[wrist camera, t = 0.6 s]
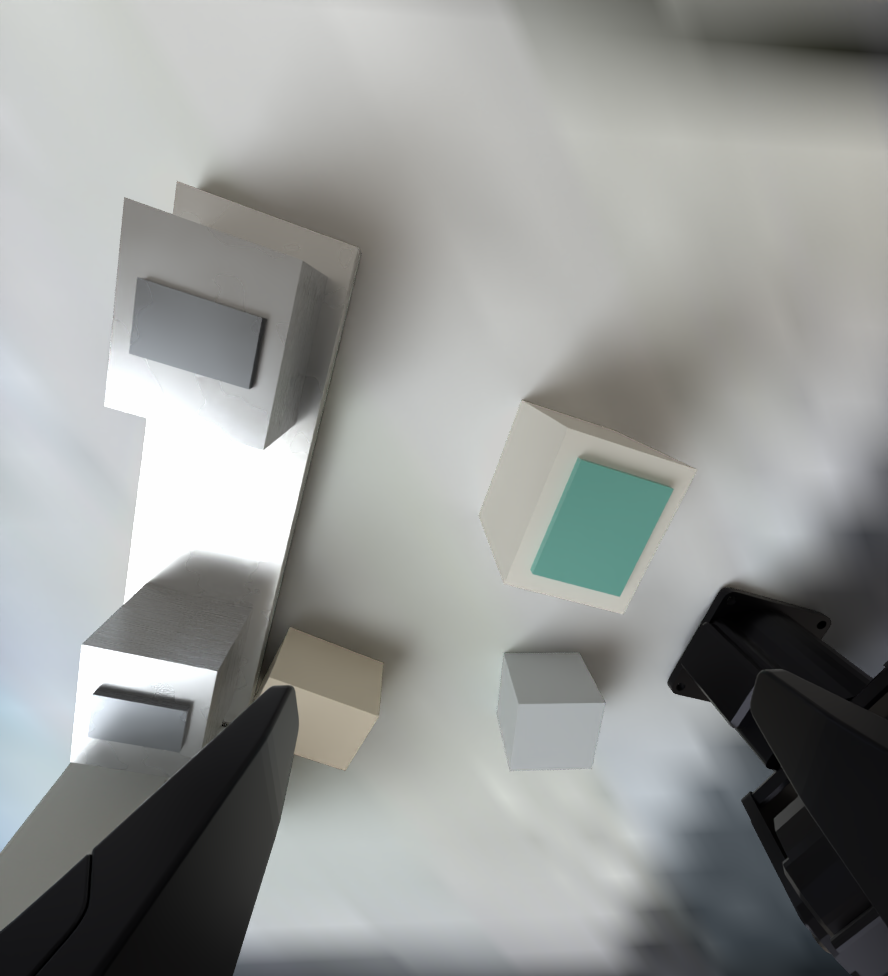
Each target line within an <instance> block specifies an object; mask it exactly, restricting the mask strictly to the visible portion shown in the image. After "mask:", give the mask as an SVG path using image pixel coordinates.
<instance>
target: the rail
mask: <svg viewBox="0 0 888 976" xmlns="http://www.w3.org/2000/svg"><path fill="white" fill-rule="evenodd" d="M360 257H361V251H360V250H359V248H358V247H356V246H353V245H350V244H348V243H345V242H342V241H340V240H337V239H334V238H331V237H329V236H326V235H323V234H320V233H318V232H315V231H312V230H309V229H307V228H304V227H301V226H298V225H296V224H293V223H290V222H288V221H285V220H282V219H279V218H277V217H274V216H271V215H268V214H266V213H263V212H260V211H257V210H255V209H252V208H249V207H247V206H244V205H241V204H238V203H236V202H233V201H230V200H227V199H225V198H222V197H219V196H216V195H214V194H211V193H208V192H205V191H203V190H200V189H197V188H195V187H192V186H189V185H186V184H184V183H181V182H178V181H177V185H176V193H175V201H174V209H173V214H170V213H167V212H165V211H162V210H159V209H156V208H153V207H150V206H148V205H145V204H142V203H139V202H136V201H133V200H131V199H128V198H125V197H124V207H123V217H122V227H121V238H120V248H119V259H118V269H117V280H116V290H115V301H114V311H113V322H112V332H111V342H110V353H109V363H108V374H107V384H106V395H105V405H104V406H106V407H109V408H113V409H116V410H120V411H123V412H127V413H131V414H134V415H138V416H141V417H145V418H147V424H146V432H145V440H144V448H143V456H142V464H141V472H140V480H139V488H138V496H137V504H136V512H135V520H134V528H133V536H132V544H131V552H130V560H129V568H128V576H127V584H126V592H125V600H124V605H123V606H121V607H120V608H119V609H118V610H117V611H116V612H115V613H114V614H113V615H112V616H111V617H110V618H109V619H108V620H107V621H106V622H105V623H104V624H103V625H102V626H100V627H99V628H98V629H97V630H96V631H95V632H94V633H93V634H92V635H91V636H90V637H89V638H88V639H87V640H86V641H85V642H84V643H83V644H82V646H81V656H80V667H79V677H78V687H77V698H76V708H75V719H74V729H73V740H72V750H71V761H70V762H73V763H79V764H86V765H92V766H99V767H105V768H111V769H118V770H124V771H130V772H137V773H143V774H149V775H156V776H162V777H169V778H171V777H172V776H173V775H174V774H175V773H176V772H177V771H178V770H180V769H181V768H182V767H183V766H184V765H185V764H186V763H187V762H188V761H189V760H191V759H192V758H193V757H194V756H195V755H196V754H197V753H198V752H199V751H200V750H201V749H203V748H204V747H205V746H206V745H207V744H208V743H209V742H210V741H211V740H212V739H213V738H215V737H216V735H217V733H218V731H219V729H220V727H221V725H222V723H223V722H226V723H231V722H232V721H233V720H234V719H235V718H236V717H237V716H239V715H240V714H241V713H242V712H243V711H244V710H245V709H246V708H247V707H248V706H249V705H251V704H252V702H253V698H254V694H255V690H256V686H257V682H258V678H259V673H260V669H261V665H262V661H263V657H264V653H265V649H266V645H267V640H268V636H269V632H270V628H271V624H272V620H273V616H274V612H275V607H276V603H277V599H278V595H279V591H280V587H281V583H282V579H283V574H284V570H285V566H286V562H287V558H288V554H289V550H290V546H291V541H292V537H293V533H294V529H295V525H296V521H297V517H298V512H299V508H300V504H301V500H302V496H303V492H304V488H305V484H306V479H307V475H308V471H309V467H310V463H311V459H312V455H313V451H314V446H315V442H316V438H317V434H318V430H319V426H320V422H321V418H322V413H323V409H324V405H325V401H326V397H327V393H328V389H329V385H330V380H331V376H332V372H333V368H334V364H335V360H336V356H337V352H338V347H339V343H340V339H341V335H342V331H343V327H344V323H345V318H346V314H347V310H348V306H349V302H350V298H351V294H352V290H353V285H354V281H355V277H356V273H357V269H358V265H359V261H360Z"/></svg>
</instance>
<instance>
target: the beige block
mask: <svg viewBox="0 0 888 976" xmlns="http://www.w3.org/2000/svg"><path fill="white" fill-rule="evenodd" d="M382 674H383V663H382V662H380V661H377V660H374V659H372V658H369V657H367V656H364V655H361V654H359V653H356V652H354V651H351V650H348V649H346V648H343V647H341V646H338V645H335V644H333V643H330V642H328V641H325V640H322V639H320V638H317V637H315V636H312V635H309V634H307V633H304V632H302V631H299V630H296V629H294V628H291V627H290V628H289V630H288V632H287V634H286V636H285V637H284V639H283V641H282V643H281V645H280V647H279V649H278V651H277V653H276V655H275V657H274V659H273V661H272V663H271V665H270V667H269V669H268V671H267V673H266V675H265V677H264V679H263V681H262V683H261V685H260V688H259V690H258V692H257V695H256V697H255V699H254V701H255V700H256V699H257V698H258V697H259V696H260V695H262V694H263V693H264V692H265V691H266V690H267V689H268V688H269V687H271V686H275V685H292V686H293V687H294V689H295V692H296V700H297V708H298V716H299V730H298V736H297V741H296V746H295V751H294V754H295V755H298V756H301V757H304V758H307V759H310V760H313V761H316V762H319V763H322V764H325V765H329V766H332V767H335V768H338V769H341V770H344V771H346V769H347V767H348V766H349V764H350V763H351V761H352V759H353V758H354V756H355V754H356V753H357V751H358V750H359V748H360V746H361V745H362V743H363V742H364V740H365V738H366V737H367V735H368V733H369V732H370V730H371V729H372V727H373V725H374V724H375V722H376V720H377V719H378V717H379V711H380V699H381V687H382Z"/></svg>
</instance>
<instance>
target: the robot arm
mask: <svg viewBox="0 0 888 976" xmlns="http://www.w3.org/2000/svg"><path fill="white" fill-rule="evenodd" d="M729 597H731V598H730V599H728V598H729ZM727 599H728V600H727ZM830 625H831V620H830V618H828V617H827V616H825V615H824V614H822V613H820V612H817V611H813V610H810V609H806V608H802V607H799V606H795V605H792V604H788V603H784V602H781V601H777V600H774V599H770V598H766V597H763V596H759V595H756V594H752V593H748V592H745V591H741V590H738V589H734V588H724V589H723V590H721V591H720V592H719V593H718V595H717V596H716V598H715V600H714V602H713V603H712V605H711V607H710V609H709V610H708V612H707V614H706V616H705V617H704V619H703V621H702V622H701V624H700V626H699V628H698V629H697V631H696V633H695V635H694V636H693V638H692V640H691V642H690V643H689V645H688V647H687V648H686V650H685V652H684V654H683V655H682V657H681V659H680V661H679V662H678V664H677V666H676V668H675V669H674V671H673V673H672V674H671V676H670V678H669V680H668V686H669V687H670V689H671V690H672V691H673V693H675V694H678V695H682V696H686V697H691V698H695V699H700V700H704V701H709V702H711V703H712V704H713V705H714V706H715V708H716V709H717V710H718V711H719V712H720V714H721V715H722V716H723V717H724V719H725V720H726V721H727V722H728V724H729V725H730V726H731V727H733V728H735V730H736V731H737V732H738V733H739V734H740V736H741V737H742V738H743V739H744V740H745V742H746V743H747V744H748V745H749V747H750V748H751V749H752V750H753V751H754V753H755V754H756V755H757V756H758V758H759V759H760V760H761V761H762V762H763V764H764V765H765V766H766V767H767V768H769V769H772V770H773V771H774V773H773V774H772V775H771V776H770V777H769V778H768V779H767V780H766V781H764V782H763V783H762V784H761V785H760V786H759V787H758V788H757V789H756V790H755V791H754V792H749V793H748V794H747V795H746V796H745V797H743V798H742V799H741V801H742V803H743V805H744V807H745V809H746V811H747V813H748V815H749V817H750V819H751V823H752V825H753V827H754V829H755V831H756V833H757V835H758V837H759V839H760V841H761V843H762V845H763V847H764V849H765V850H766V852H767V854H768V856H769V858H770V860H771V862H772V864H773V866H774V868H775V870H776V872H777V874H778V876H779V878H780V880H781V882H782V884H783V886H784V888H785V890H786V892H787V894H788V896H789V898H790V900H791V902H792V904H793V906H794V908H795V910H796V912H797V914H798V916H799V917H800V919H801V921H802V922H803V923H804V925H805V926H806V927H807V928H808V929H809V930H810V931H811V933H812V935H813V937H814V938H815V940H816V941H817V943H818V944H819V945H820V946H821V947H822V948H823V949H824V950H825V951H827V952H828V953H830V954H832V955H833V957H834V958H835V959H836V960H837V961H838V962H839V963H840V964H841V965H842V966H843V967H844V968H845V969H846V970H847V971H848V972H849V973H850V974H851V975H852V976H888V661H887V662H886V663H885V664H884V666H885V668H884V669H883V670H882V671H881V672H880V673H879V674H878V675H877V676H876V677H875V678H874V679H873V678H871V677H870V676H869V675H867V674H866V673H865V672H863V671H862V670H861V669H859V668H858V667H857V666H855V665H854V664H853V663H851V662H850V661H849V660H847V659H846V658H845V657H843V656H842V655H841V654H839V653H838V652H837V651H835V650H834V649H833V648H831V647H830V646H829V645H827V644H826V643H825V642H823V641H822V640H821V639H822V637H823V636H824V634H825V633H826V632H827V630H828V629H829V627H830ZM298 730H299V716H298V708H297V700H296V692H295V689H294V687H293V686H292V685H275V686H271V687H269V688H268V689H267V690H266V691H265V692H264V693H263V694H262V695H260V696H259V697H258V698H257V699H256V700H255V701H254V702H253V703H252V704H251V705H249V706H248V707H247V708H246V709H245V710H244V711H243V712H242V713H241V714H240V715H239V716H237V717H236V718H235V719H234V720H233V721H232V722H231V723H230V724H229V725H228V726H227V727H225V728H224V729H223V730H222V731H221V732H220V733H219V734H218V735H217V736H216V737H215V738H213V739H212V740H211V741H210V742H209V743H208V744H207V745H206V746H205V747H204V748H203V749H201V750H200V751H199V752H198V753H197V754H196V755H195V756H194V757H193V758H192V759H191V760H189V761H188V762H187V763H186V764H185V765H184V766H183V767H182V768H181V769H180V770H178V771H177V772H176V773H175V774H174V775H173V776H172V777H171V778H170V779H169V780H168V781H166V782H165V783H164V784H163V785H162V786H161V787H160V788H159V789H158V790H157V791H156V792H154V793H153V794H152V795H151V796H150V797H149V798H148V799H147V800H146V801H145V802H144V803H142V804H141V805H140V806H139V807H138V808H137V809H136V810H135V811H134V812H133V813H132V814H130V815H129V816H128V817H127V818H126V819H125V820H124V821H123V822H122V823H121V824H119V825H118V826H117V827H116V828H115V829H114V830H113V831H112V832H111V833H110V834H109V835H107V836H106V837H105V838H104V839H103V840H102V841H101V842H100V843H99V844H98V845H97V846H95V847H94V848H93V850H92V854H87V855H85V856H84V857H83V858H82V859H81V860H80V861H79V862H78V863H77V864H76V865H74V866H73V867H72V868H71V869H70V870H69V871H68V872H67V873H66V874H65V875H64V876H62V877H61V878H60V879H59V880H58V881H57V882H56V883H55V884H53V885H52V886H51V887H50V888H49V889H48V890H47V891H46V892H44V893H43V894H42V895H41V896H40V897H39V898H38V899H37V900H35V901H34V902H33V903H32V904H31V905H30V906H29V907H28V908H26V909H25V910H24V911H23V912H22V913H21V914H20V915H19V916H17V917H16V918H15V919H14V920H13V921H12V922H10V923H9V924H8V925H7V926H6V927H4V928H3V929H2V930H1V931H0V976H233V973H234V970H235V967H236V963H237V960H238V957H239V954H240V950H241V947H242V944H243V941H244V937H245V934H246V931H247V928H248V924H249V921H250V918H251V915H252V912H253V908H254V905H255V902H256V899H257V895H258V892H259V889H260V886H261V882H262V879H263V876H264V873H265V870H266V866H267V863H268V860H269V857H270V853H271V850H272V847H273V844H274V840H275V837H276V834H277V830H278V826H279V823H280V819H281V814H282V810H283V805H284V800H285V795H286V790H287V785H288V780H289V776H290V771H291V766H292V761H293V756H294V751H295V746H296V741H297V736H298Z"/></svg>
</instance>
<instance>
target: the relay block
mask: <svg viewBox="0 0 888 976" xmlns="http://www.w3.org/2000/svg"><path fill="white" fill-rule="evenodd" d="M604 708H605V701H604V699H603V697H602V695H601V693H600V691H599V689H598V687H597V686H596V684H595V682H594V680H593V678H592V676H591V674H590V672H589V670H588V669H587V667H586V665H585V663H584V661H583V659H582V657H581V655H580V653H504V654H503V663H502V672H501V680H500V689H499V698H498V706H497V718H498V722H499V727H500V731H501V735H502V740H503V744H504V748H505V753H506V757H507V762H508V766H509V770H510V771H529V770H566V769H592V765H593V760H594V755H595V750H596V746H597V741H598V736H599V732H600V727H601V722H602V718H603V713H604Z"/></svg>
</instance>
